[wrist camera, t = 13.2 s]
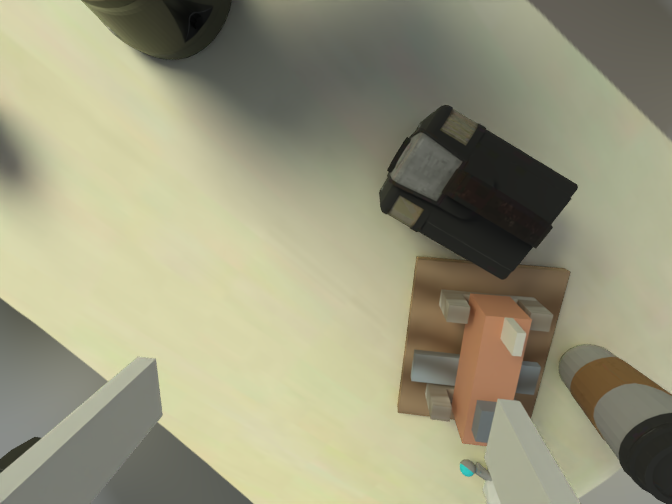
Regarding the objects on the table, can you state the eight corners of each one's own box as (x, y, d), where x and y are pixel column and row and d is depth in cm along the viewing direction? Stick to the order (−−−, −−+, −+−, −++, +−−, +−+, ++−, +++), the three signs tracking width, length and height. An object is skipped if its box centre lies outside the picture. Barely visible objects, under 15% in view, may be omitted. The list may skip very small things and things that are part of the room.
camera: (422, 104, 35) (456, 69, 21) (532, 170, 36) (636, 179, 22) (370, 193, 39) (369, 214, 24) (471, 252, 39) (528, 307, 25)
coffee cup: (533, 368, 42) (614, 477, 28) (583, 322, 40) (700, 415, 26) (583, 403, 43) (687, 527, 29) (636, 360, 41) (778, 471, 26)
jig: (416, 256, 40) (423, 271, 35) (564, 268, 38) (595, 286, 33) (397, 406, 46) (400, 438, 41) (524, 421, 45) (544, 457, 39)
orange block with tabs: (470, 293, 38) (496, 330, 30) (509, 296, 38) (547, 335, 30) (451, 407, 43) (469, 467, 35) (486, 411, 42) (513, 472, 34)
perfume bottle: (522, 533, 46) (440, 490, 47) (536, 470, 48) (457, 431, 50) (560, 564, 38) (461, 513, 40) (574, 488, 41) (480, 442, 42)
